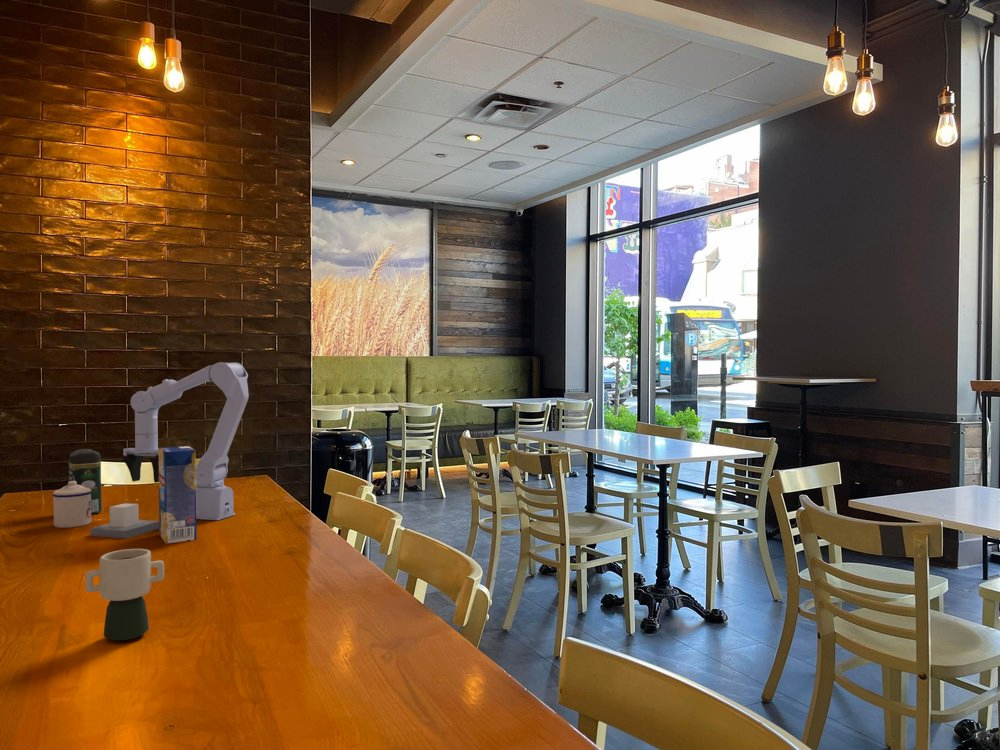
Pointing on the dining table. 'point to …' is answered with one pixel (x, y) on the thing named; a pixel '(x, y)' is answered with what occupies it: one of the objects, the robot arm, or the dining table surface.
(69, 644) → the dining table surface
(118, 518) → the cream cube
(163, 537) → the beverage box
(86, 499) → the teacup with lid
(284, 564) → the dining table surface
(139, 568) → the character mug
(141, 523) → the slate block
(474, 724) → the dining table surface
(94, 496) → the coffee jar
